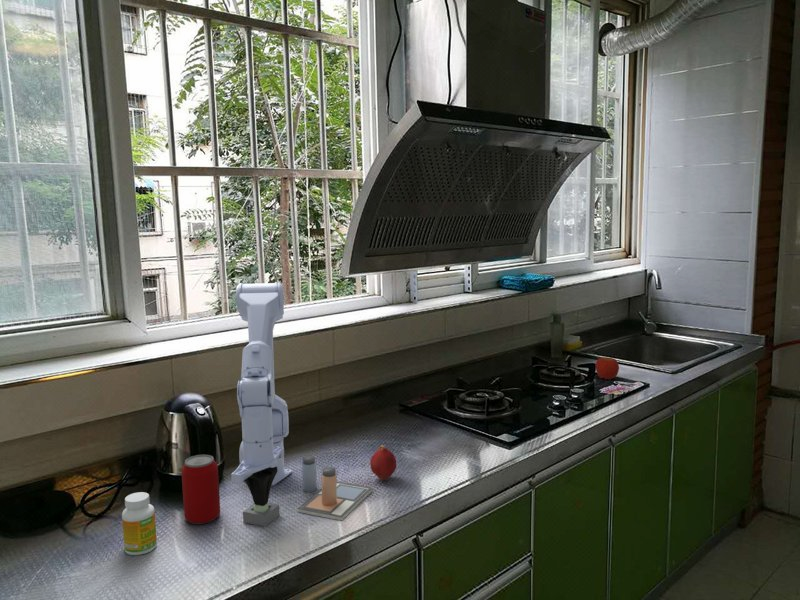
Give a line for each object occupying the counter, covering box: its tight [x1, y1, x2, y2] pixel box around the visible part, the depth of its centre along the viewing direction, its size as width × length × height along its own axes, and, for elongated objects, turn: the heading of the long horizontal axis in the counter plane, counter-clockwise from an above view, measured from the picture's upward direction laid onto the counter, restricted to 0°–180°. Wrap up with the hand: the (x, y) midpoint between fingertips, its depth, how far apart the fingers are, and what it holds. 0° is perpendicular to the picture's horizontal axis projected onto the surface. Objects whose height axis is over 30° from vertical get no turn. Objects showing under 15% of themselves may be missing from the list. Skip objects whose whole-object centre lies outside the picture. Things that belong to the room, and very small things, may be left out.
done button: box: [253, 503, 269, 513], centre depth 123 cm, size 3×3×3 cm
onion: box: [369, 445, 397, 481], centre depth 140 cm, size 6×6×8 cm
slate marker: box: [301, 455, 318, 493], centre depth 136 cm, size 3×3×7 cm
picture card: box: [296, 481, 373, 521], centre depth 130 cm, size 10×14×1 cm
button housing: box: [242, 501, 281, 528], centre depth 123 cm, size 5×5×2 cm
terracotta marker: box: [321, 466, 338, 506], centre depth 128 cm, size 3×3×7 cm
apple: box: [595, 356, 620, 380], centre depth 220 cm, size 8×8×8 cm
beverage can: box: [181, 454, 221, 525], centre depth 123 cm, size 7×7×12 cm
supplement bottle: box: [121, 491, 158, 556], centre depth 113 cm, size 5×5×10 cm
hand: (260, 504), depth 123 cm, fingers closed, pressing on done button
